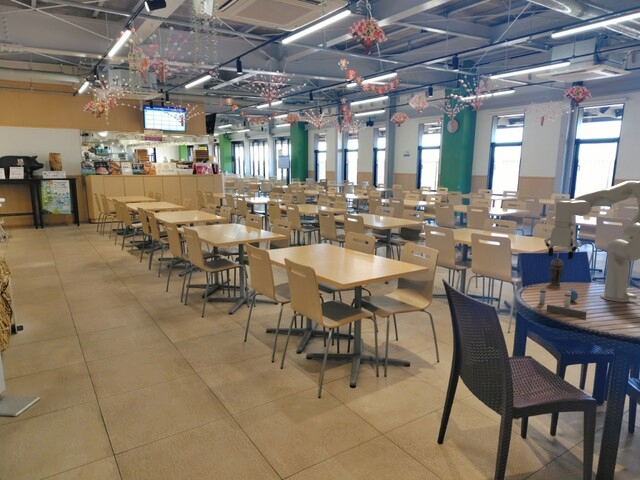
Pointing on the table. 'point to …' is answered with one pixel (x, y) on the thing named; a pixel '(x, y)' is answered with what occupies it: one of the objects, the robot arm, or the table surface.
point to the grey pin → (542, 295)
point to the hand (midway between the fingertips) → (560, 257)
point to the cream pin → (567, 299)
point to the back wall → (566, 311)
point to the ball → (573, 295)
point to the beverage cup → (556, 270)
